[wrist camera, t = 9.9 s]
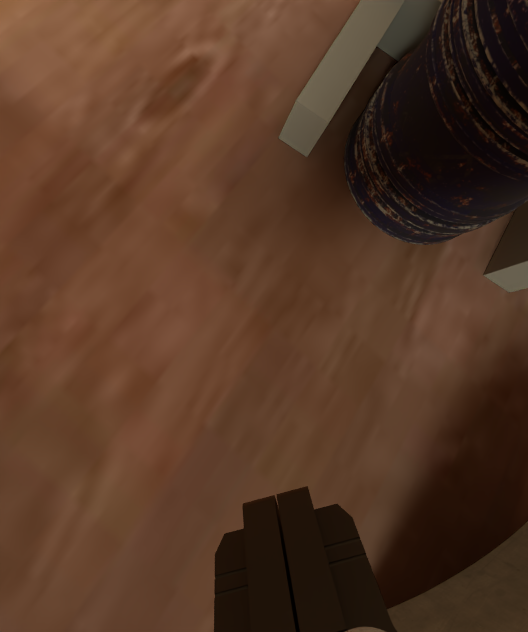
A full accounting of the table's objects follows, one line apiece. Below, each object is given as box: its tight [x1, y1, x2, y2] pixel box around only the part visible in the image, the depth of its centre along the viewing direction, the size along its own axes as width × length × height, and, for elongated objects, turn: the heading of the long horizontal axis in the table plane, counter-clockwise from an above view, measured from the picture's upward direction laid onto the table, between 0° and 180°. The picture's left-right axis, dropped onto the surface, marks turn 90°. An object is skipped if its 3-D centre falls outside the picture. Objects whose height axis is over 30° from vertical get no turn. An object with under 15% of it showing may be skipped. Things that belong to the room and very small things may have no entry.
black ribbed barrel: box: [344, 0, 528, 245], centre depth 23 cm, size 10×10×15 cm
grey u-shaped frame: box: [279, 0, 528, 293], centre depth 28 cm, size 17×10×5 cm, turn 59°
